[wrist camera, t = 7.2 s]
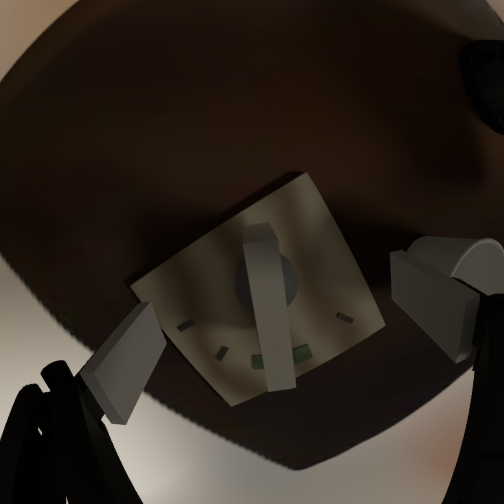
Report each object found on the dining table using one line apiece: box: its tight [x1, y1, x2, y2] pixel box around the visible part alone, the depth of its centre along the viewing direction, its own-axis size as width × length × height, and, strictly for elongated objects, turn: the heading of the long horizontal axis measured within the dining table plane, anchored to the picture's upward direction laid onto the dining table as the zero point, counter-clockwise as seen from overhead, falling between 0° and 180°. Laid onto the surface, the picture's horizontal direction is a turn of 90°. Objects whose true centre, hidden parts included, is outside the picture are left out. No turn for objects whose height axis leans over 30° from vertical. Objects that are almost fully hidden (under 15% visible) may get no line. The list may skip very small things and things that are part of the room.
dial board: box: [130, 172, 385, 406], centre depth 30 cm, size 22×20×1 cm
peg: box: [235, 222, 298, 392], centre depth 24 cm, size 15×6×10 cm, turn 9°
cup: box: [407, 236, 504, 296], centre depth 24 cm, size 10×10×11 cm
